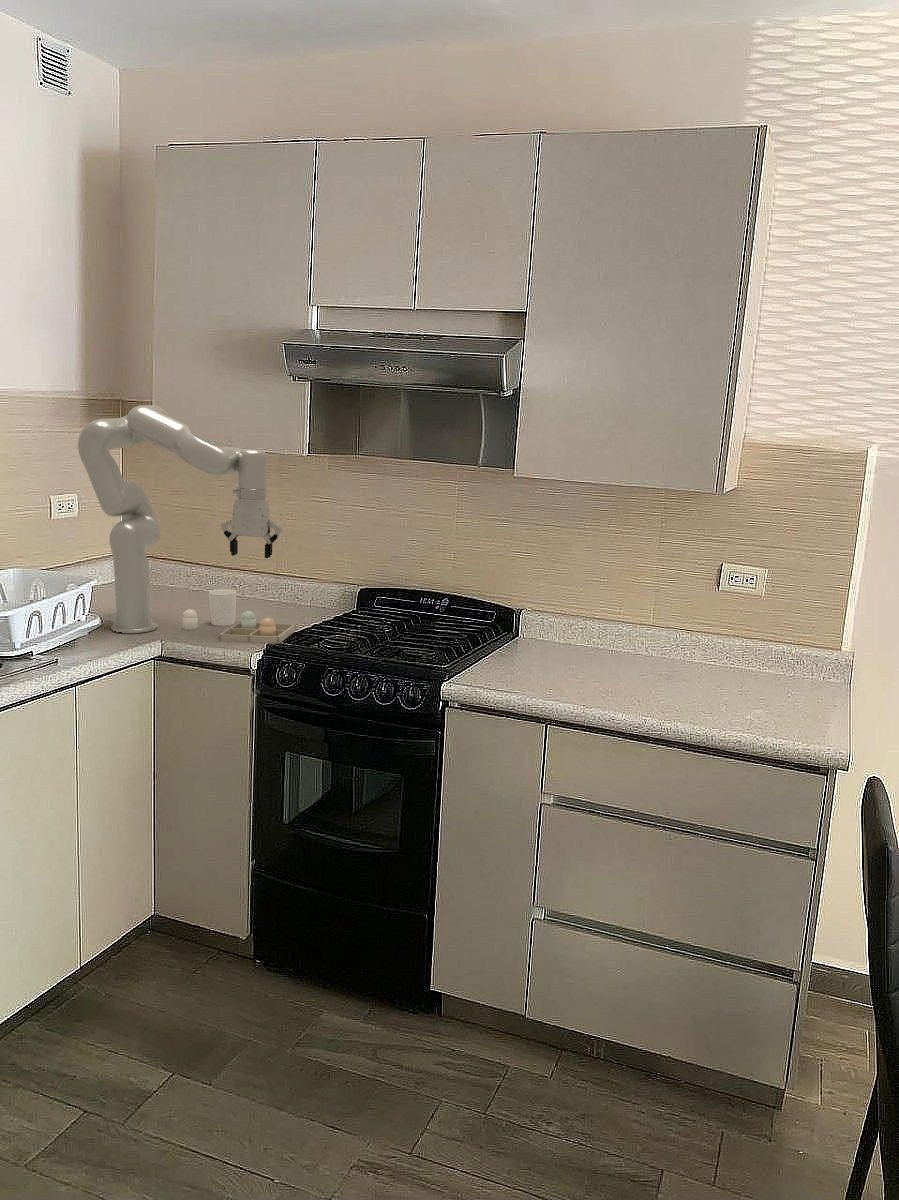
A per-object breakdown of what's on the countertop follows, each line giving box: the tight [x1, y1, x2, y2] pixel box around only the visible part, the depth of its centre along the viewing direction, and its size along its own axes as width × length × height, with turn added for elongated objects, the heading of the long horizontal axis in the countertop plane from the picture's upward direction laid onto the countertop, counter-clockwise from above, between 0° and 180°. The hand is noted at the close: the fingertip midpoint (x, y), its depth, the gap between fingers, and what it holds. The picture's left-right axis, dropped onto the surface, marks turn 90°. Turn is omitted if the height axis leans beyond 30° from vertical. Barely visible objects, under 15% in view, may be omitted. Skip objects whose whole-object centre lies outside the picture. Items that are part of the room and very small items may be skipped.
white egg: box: [182, 608, 199, 631], centre depth 302 cm, size 4×4×6 cm
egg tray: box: [218, 621, 297, 645], centre depth 294 cm, size 17×17×2 cm
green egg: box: [240, 610, 257, 629], centre depth 298 cm, size 4×4×6 cm
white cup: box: [208, 589, 237, 627], centre depth 309 cm, size 8×8×10 cm
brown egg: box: [259, 617, 276, 637], centre depth 289 cm, size 4×4×6 cm
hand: (251, 556), depth 293 cm, fingers open, 9 cm apart
